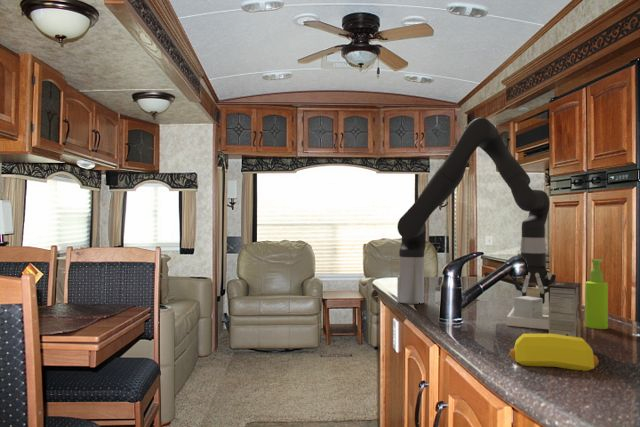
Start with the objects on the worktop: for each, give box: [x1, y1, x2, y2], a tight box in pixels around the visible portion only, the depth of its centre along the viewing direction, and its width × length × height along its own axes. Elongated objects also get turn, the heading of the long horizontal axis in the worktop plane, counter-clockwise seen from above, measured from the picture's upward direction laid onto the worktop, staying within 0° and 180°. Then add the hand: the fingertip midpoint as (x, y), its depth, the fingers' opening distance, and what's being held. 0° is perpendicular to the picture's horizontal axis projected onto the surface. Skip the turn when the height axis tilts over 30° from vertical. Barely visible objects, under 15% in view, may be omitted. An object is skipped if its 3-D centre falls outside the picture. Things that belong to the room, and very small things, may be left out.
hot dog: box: [508, 333, 600, 372], centre depth 112 cm, size 18×7×8 cm
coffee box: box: [548, 281, 582, 338], centre depth 125 cm, size 9×6×16 cm
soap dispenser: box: [584, 258, 609, 330], centre depth 151 cm, size 6×7×20 cm
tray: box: [506, 306, 549, 330], centre depth 159 cm, size 12×22×3 cm, turn 153°
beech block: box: [526, 286, 540, 298], centre depth 164 cm, size 4×4×6 cm
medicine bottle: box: [535, 275, 556, 308], centre depth 175 cm, size 7×7×12 cm
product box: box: [513, 296, 543, 319], centre depth 154 cm, size 6×6×7 cm
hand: (533, 304), depth 164 cm, fingers closed on beech block, 4 cm apart
